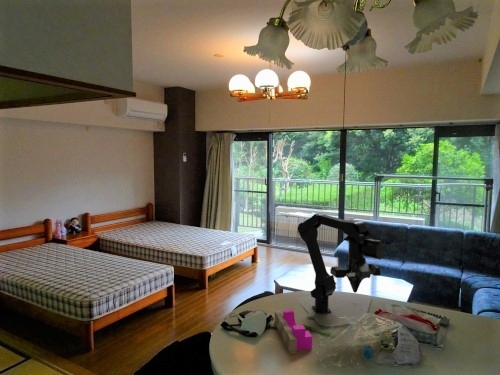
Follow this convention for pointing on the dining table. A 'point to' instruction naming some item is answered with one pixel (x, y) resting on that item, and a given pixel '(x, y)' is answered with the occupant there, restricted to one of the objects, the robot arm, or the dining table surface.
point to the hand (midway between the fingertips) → (354, 292)
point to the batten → (286, 333)
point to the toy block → (298, 331)
